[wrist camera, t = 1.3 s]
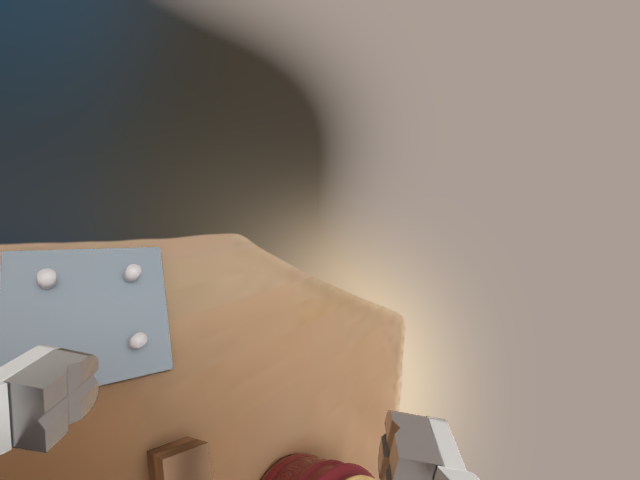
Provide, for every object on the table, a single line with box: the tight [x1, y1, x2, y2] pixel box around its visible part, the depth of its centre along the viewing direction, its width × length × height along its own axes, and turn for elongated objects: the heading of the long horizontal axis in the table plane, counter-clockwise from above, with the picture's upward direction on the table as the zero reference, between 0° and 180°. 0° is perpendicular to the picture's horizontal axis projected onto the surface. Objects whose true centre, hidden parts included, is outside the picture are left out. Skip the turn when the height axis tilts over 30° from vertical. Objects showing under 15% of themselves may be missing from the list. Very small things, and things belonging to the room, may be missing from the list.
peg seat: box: [0, 247, 173, 386], centre depth 39 cm, size 16×16×4 cm
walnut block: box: [147, 437, 213, 480], centre depth 37 cm, size 4×4×8 cm
